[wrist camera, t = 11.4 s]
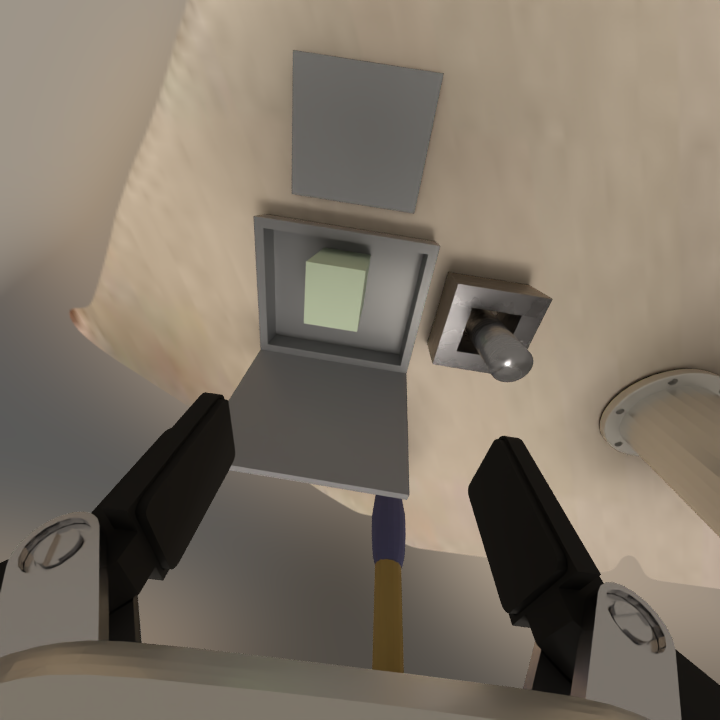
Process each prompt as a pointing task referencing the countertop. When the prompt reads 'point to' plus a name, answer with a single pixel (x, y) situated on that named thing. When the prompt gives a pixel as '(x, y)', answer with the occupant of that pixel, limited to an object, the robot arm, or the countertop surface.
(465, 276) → the square socket block
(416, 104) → the mat
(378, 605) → the rubber mallet
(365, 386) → the lid
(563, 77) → the countertop surface
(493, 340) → the rod
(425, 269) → the case
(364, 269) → the block
